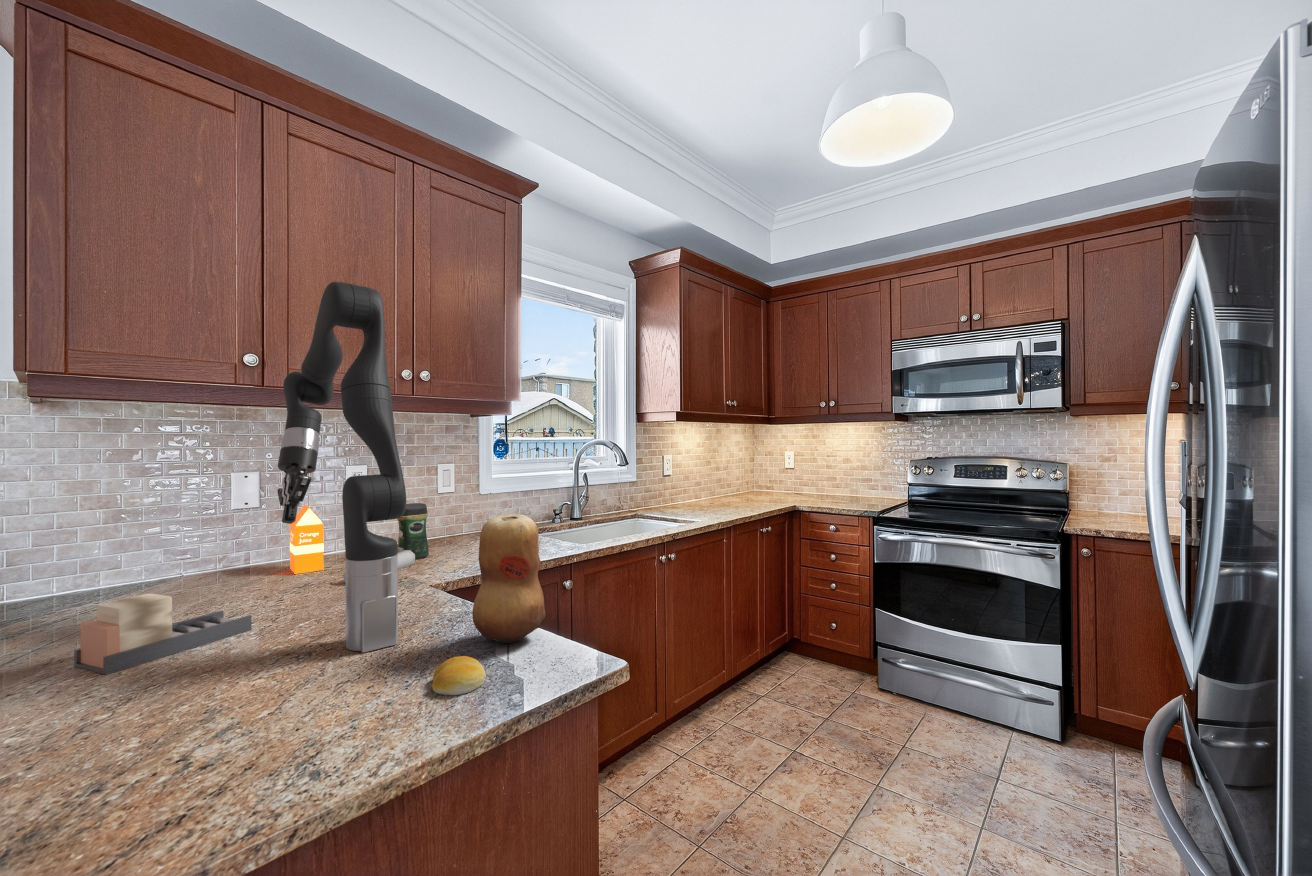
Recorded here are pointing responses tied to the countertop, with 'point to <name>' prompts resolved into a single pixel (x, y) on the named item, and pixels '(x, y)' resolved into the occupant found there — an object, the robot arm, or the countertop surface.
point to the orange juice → (306, 542)
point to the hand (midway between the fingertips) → (288, 522)
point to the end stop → (98, 642)
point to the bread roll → (458, 676)
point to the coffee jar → (413, 530)
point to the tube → (402, 559)
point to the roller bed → (172, 642)
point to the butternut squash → (509, 579)
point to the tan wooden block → (139, 619)
